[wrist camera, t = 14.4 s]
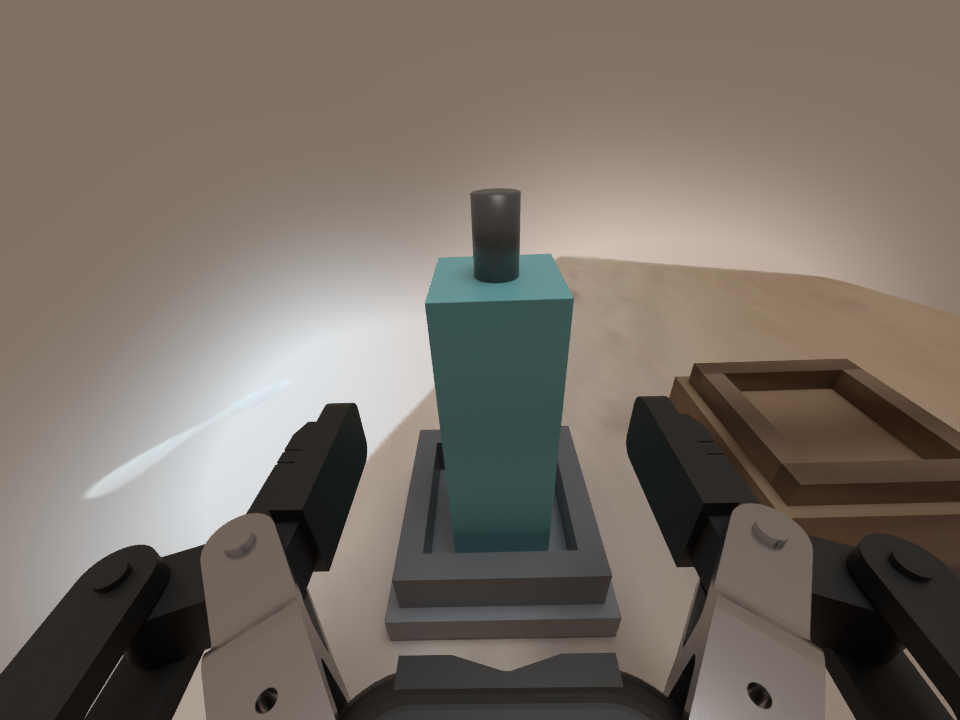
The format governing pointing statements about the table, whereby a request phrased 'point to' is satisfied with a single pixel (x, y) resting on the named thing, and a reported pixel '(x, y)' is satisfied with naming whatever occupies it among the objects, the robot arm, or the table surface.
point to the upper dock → (833, 449)
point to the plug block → (499, 380)
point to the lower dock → (499, 566)
